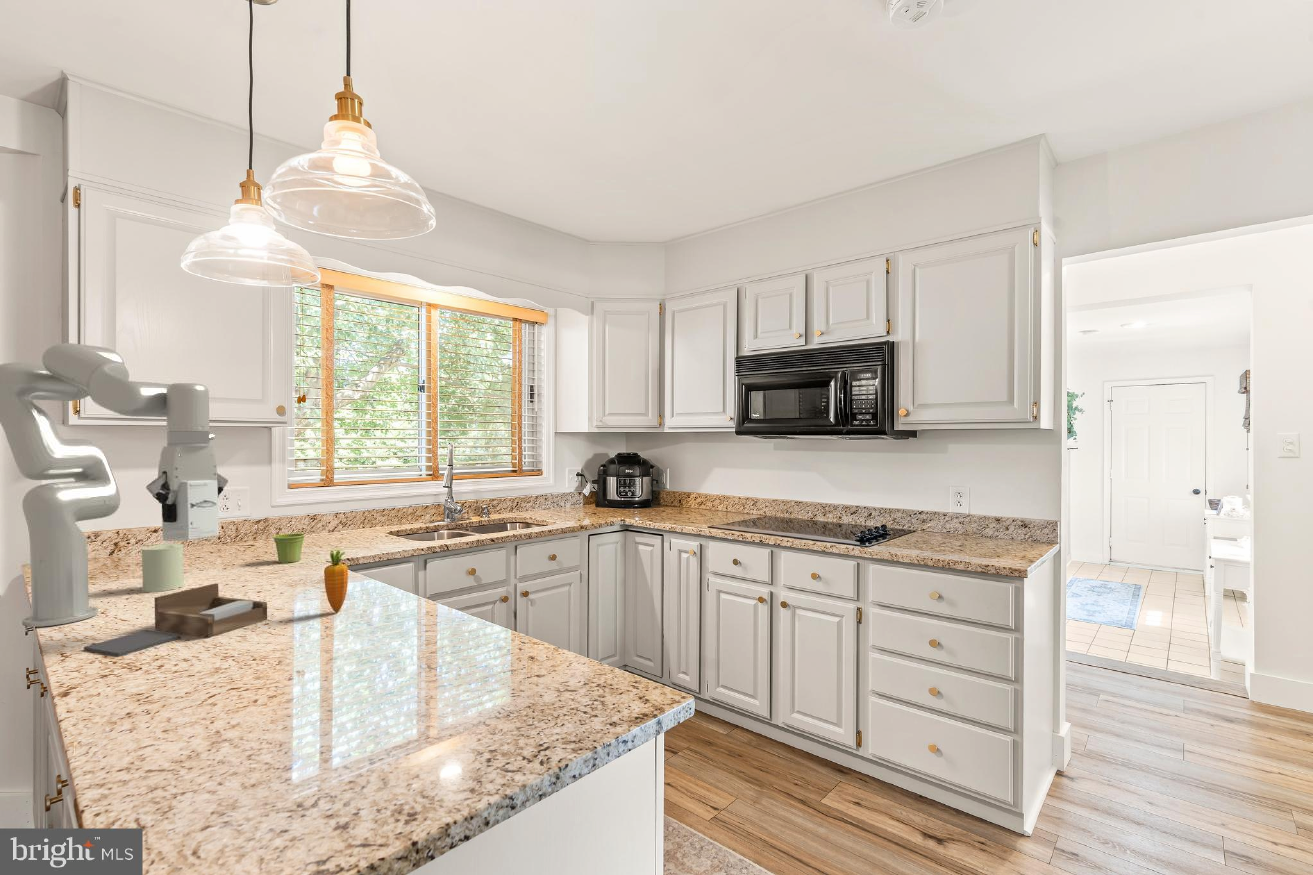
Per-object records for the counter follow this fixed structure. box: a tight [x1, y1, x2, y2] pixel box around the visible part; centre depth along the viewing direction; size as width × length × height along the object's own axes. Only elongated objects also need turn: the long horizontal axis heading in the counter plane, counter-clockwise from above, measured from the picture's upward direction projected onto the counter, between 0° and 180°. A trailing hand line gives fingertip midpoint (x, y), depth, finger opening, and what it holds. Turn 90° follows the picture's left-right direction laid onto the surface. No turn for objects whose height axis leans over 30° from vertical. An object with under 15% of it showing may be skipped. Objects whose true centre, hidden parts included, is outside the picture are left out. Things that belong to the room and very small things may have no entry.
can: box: [141, 543, 185, 593], centre depth 172 cm, size 9×9×12 cm
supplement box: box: [161, 481, 220, 542], centre depth 137 cm, size 7×7×13 cm
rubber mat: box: [83, 629, 182, 657], centre depth 126 cm, size 11×11×1 cm
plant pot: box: [272, 533, 306, 564], centre depth 206 cm, size 9×9×9 cm
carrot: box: [323, 549, 349, 614], centre depth 146 cm, size 5×5×15 cm
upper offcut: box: [199, 601, 253, 621], centre depth 136 cm, size 4×10×2 cm, turn 168°
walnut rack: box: [154, 583, 268, 639], centre depth 138 cm, size 17×13×7 cm
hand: (189, 519), depth 137 cm, fingers closed on supplement box, 7 cm apart
